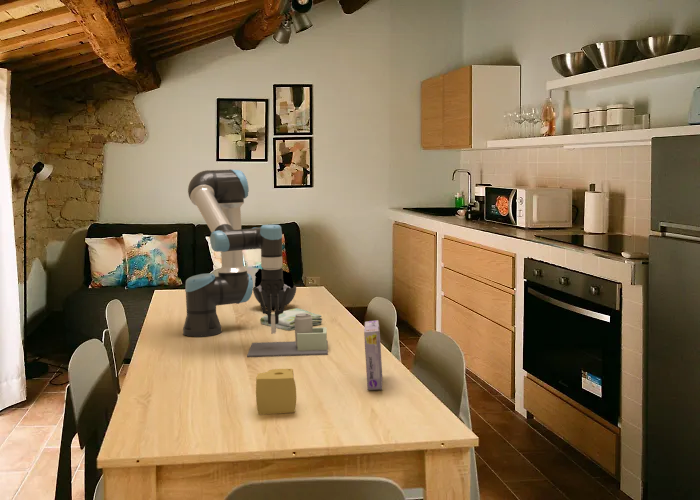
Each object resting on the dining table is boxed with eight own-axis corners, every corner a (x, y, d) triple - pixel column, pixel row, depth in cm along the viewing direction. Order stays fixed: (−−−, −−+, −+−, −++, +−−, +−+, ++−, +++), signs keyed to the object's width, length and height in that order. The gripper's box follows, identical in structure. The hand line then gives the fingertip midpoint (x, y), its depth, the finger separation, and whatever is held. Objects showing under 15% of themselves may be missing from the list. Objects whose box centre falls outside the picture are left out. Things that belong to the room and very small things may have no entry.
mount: (252, 344, 297) (251, 326, 297) (327, 342, 298) (327, 324, 297) (247, 357, 277) (246, 338, 277) (327, 354, 278) (327, 336, 277)
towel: (289, 332, 319) (288, 319, 319) (259, 324, 336) (259, 312, 335) (324, 325, 331) (324, 313, 330) (294, 318, 347) (294, 307, 347)
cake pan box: (366, 374, 251) (364, 319, 250) (382, 374, 251) (381, 318, 249) (365, 391, 232) (364, 331, 230) (382, 391, 232) (381, 331, 230)
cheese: (257, 404, 223) (256, 369, 222) (296, 402, 224) (295, 367, 223) (256, 415, 213) (255, 379, 211) (297, 413, 213) (295, 377, 212)
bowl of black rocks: (305, 306, 373) (304, 266, 371) (279, 314, 356) (277, 272, 354) (271, 303, 384) (270, 264, 382) (244, 310, 367) (243, 270, 365)
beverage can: (311, 349, 284) (309, 315, 283) (293, 348, 285) (292, 315, 284) (315, 345, 290) (314, 312, 289) (298, 345, 292) (296, 312, 291)
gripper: (290, 266, 289) (292, 329, 292) (254, 266, 288) (256, 330, 292) (289, 269, 281) (291, 334, 285) (252, 270, 281) (254, 335, 284)
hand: (273, 332), depth 288 cm, fingers closed
